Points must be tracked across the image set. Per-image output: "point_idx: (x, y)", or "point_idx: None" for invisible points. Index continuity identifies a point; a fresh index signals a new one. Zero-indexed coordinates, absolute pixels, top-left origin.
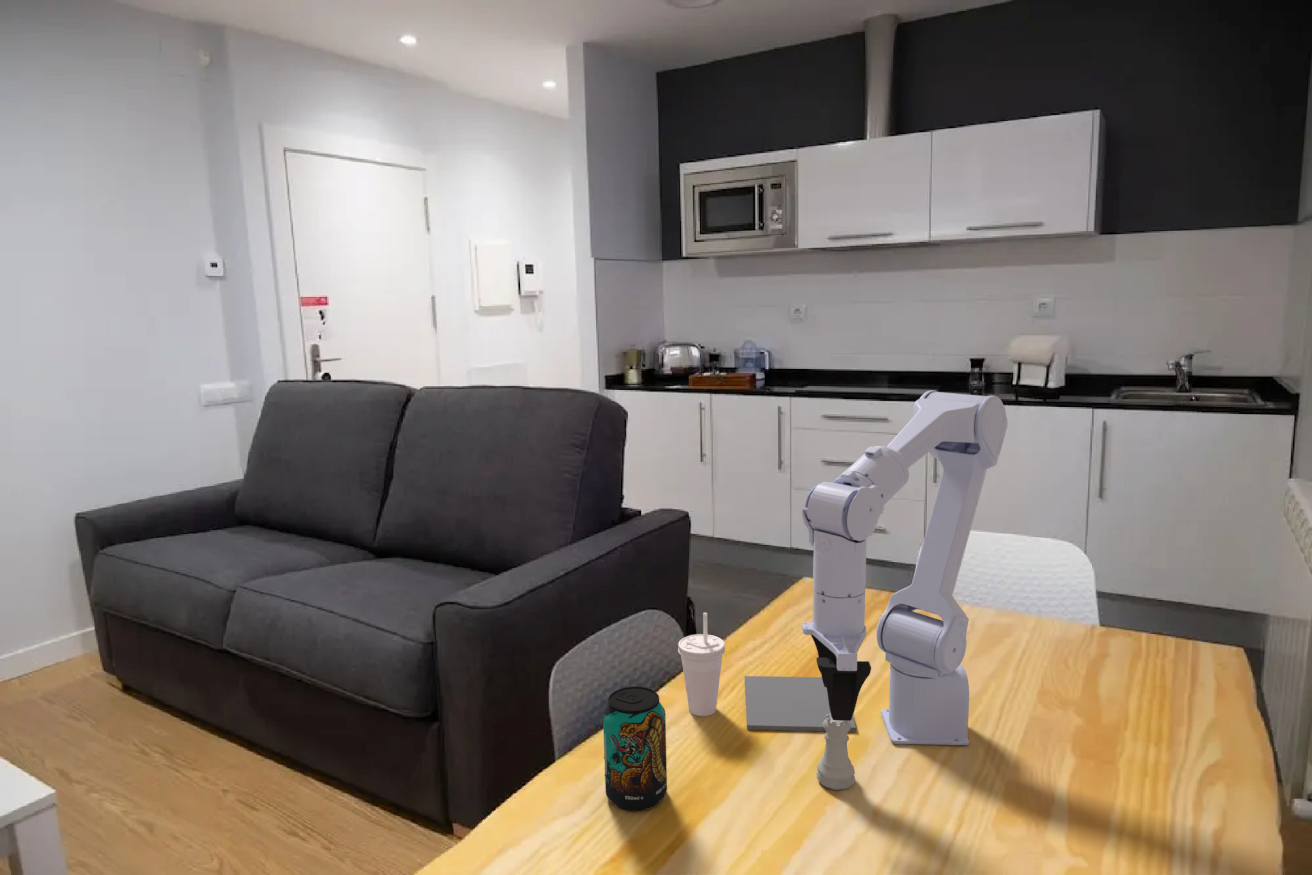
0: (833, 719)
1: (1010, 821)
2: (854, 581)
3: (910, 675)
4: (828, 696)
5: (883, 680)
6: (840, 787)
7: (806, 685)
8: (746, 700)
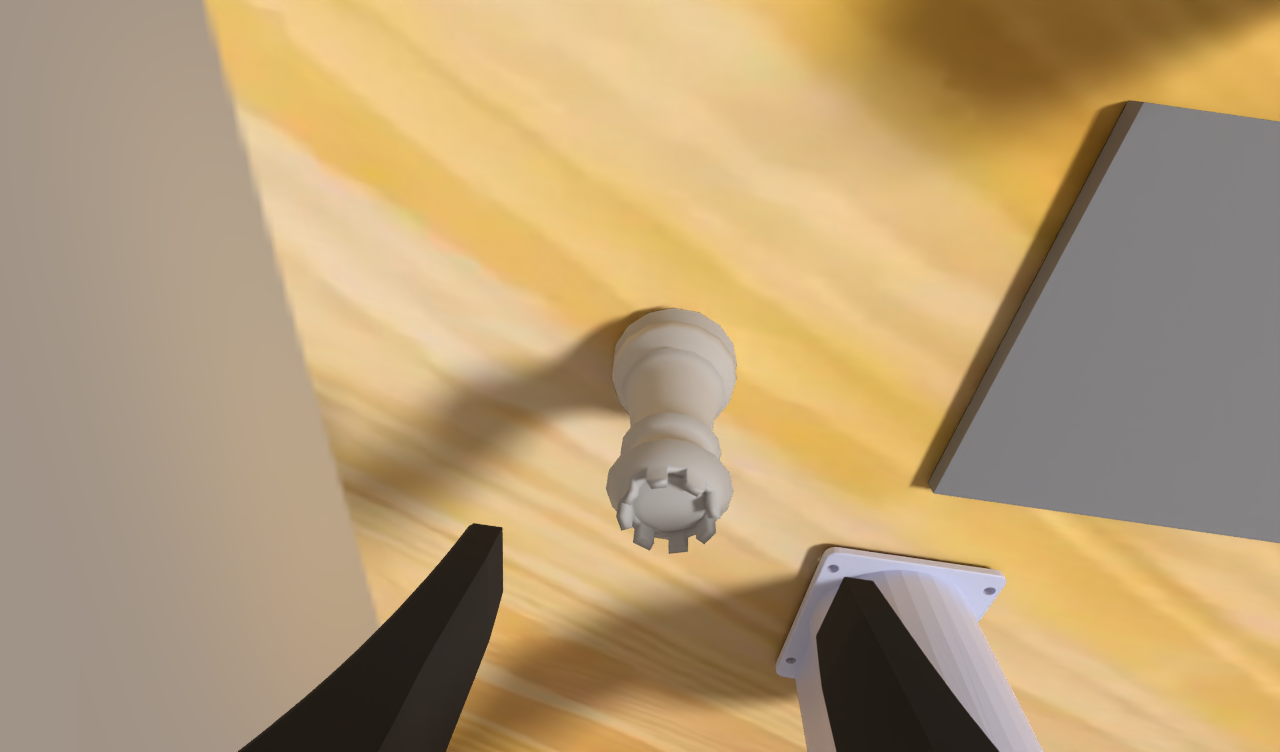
0: (469, 527)
1: (500, 626)
2: None
3: None
4: (372, 639)
5: (1186, 627)
6: (613, 363)
7: None
8: None
